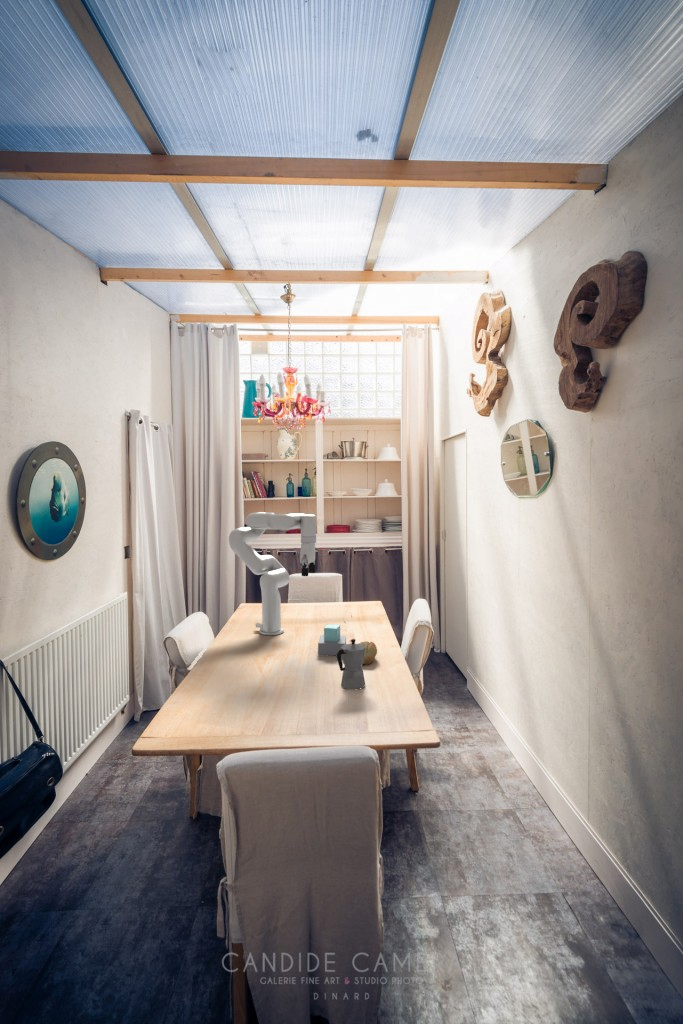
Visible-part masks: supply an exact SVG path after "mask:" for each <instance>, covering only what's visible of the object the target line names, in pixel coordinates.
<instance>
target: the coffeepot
mask: <svg viewBox="0 0 683 1024" xmlns="http://www.w3.org/2000/svg"><path fill="white" fill-rule="evenodd" d="M350 642H351V643H346V644H344V645H343V646H342V647H341V650H339V651H338V653H337V656H336V660H337V663H338V666H339V669H340V670H339V671H341V672H342V678H341V682H340V683H341V684H340V686H341V687H342V688H343V687H344V688H343V689H344V690H349V689H353V690H352V691H356V690H355V689H358V690H361V689H360V688H362V689H363V688H364V687H365V685H366V681H365V680H366V679H365V675H364V670H363V665H362V664H363V661H364V654H365V644H361V642H359V643H356V639H355V638H352V639H351V640H350ZM341 655H342V656H341ZM343 665H344V667H343Z"/></svg>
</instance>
